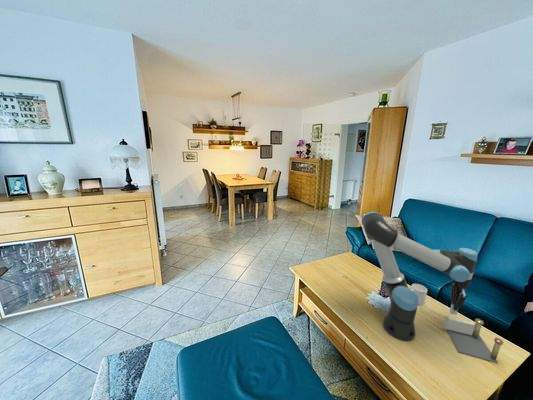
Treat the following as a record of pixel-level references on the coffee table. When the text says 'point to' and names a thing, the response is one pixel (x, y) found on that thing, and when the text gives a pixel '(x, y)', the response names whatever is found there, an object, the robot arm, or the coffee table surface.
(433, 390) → the coffee table surface
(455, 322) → the beige piece
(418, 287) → the cup
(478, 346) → the mat
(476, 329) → the hinge post
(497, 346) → the brass capped rod
